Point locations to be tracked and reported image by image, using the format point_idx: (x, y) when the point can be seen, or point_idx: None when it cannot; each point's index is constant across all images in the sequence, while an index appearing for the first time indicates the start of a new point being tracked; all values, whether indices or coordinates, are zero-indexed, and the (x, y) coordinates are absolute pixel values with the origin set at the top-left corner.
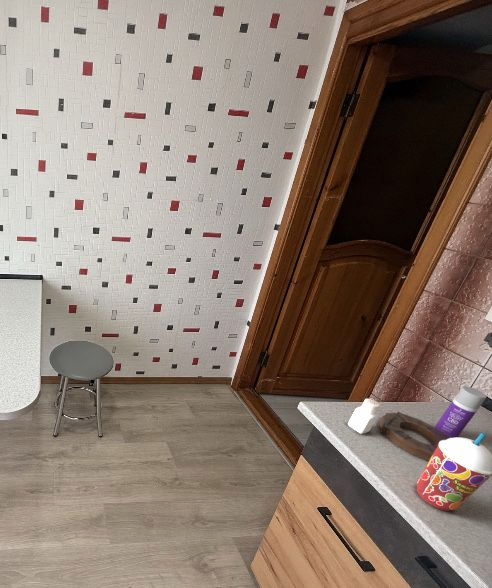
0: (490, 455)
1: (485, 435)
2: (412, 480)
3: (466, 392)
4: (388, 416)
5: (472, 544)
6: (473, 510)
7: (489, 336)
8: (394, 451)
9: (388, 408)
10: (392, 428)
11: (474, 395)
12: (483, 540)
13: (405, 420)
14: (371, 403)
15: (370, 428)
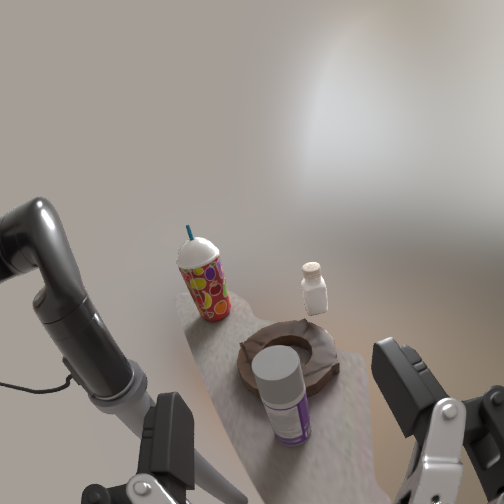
0: (181, 247)
1: (186, 226)
2: (237, 311)
3: (279, 346)
4: (325, 337)
5: (183, 307)
6: (194, 334)
7: (480, 399)
8: (274, 323)
9: (366, 381)
10: (299, 325)
11: (264, 349)
12: (179, 316)
13: (315, 356)
14: (308, 264)
15: (306, 308)
